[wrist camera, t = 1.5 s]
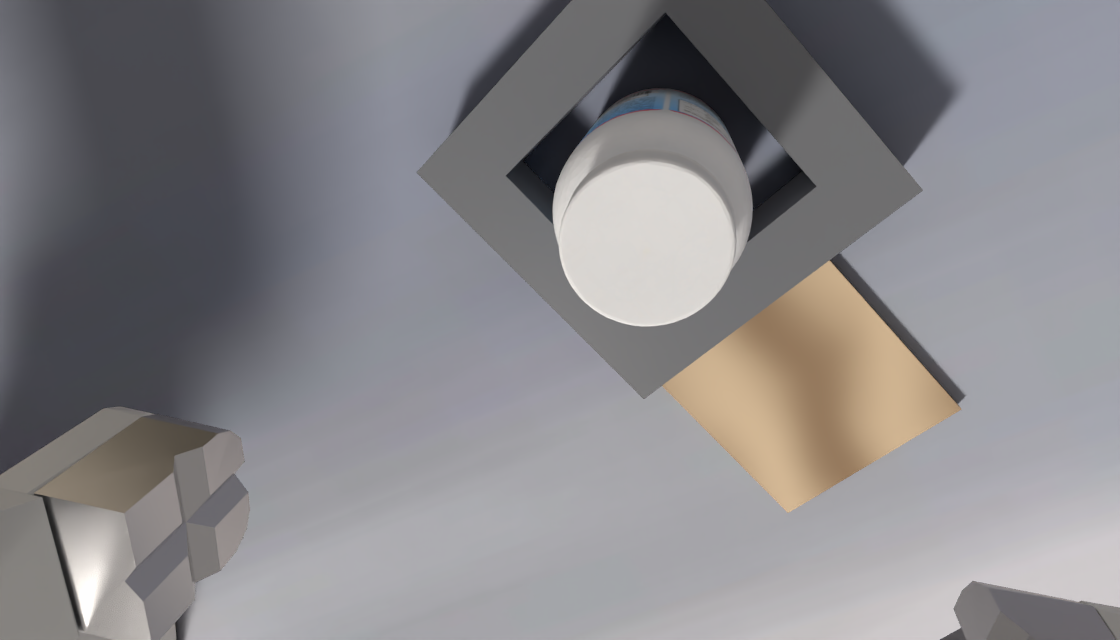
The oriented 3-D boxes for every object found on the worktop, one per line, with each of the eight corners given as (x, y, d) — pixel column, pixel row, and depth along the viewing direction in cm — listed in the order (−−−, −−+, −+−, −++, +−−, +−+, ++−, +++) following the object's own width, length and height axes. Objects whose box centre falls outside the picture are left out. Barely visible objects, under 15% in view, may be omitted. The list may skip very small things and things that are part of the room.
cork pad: (786, 507, 34) (787, 513, 33) (662, 381, 32) (661, 385, 32) (957, 404, 30) (961, 409, 30) (827, 257, 28) (829, 260, 28)
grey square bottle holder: (647, 366, 32) (643, 399, 29) (441, 158, 29) (416, 172, 27) (898, 172, 27) (922, 190, 24) (673, -97, 24) (672, -112, 22)
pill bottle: (582, 233, 30) (529, 344, 20) (587, 83, 27) (528, 122, 17) (726, 241, 29) (748, 363, 19) (744, 88, 26) (780, 132, 16)
